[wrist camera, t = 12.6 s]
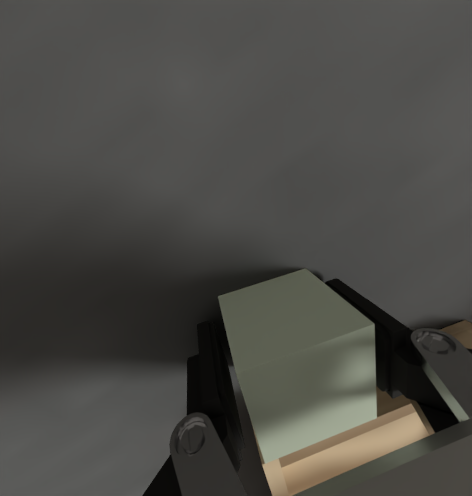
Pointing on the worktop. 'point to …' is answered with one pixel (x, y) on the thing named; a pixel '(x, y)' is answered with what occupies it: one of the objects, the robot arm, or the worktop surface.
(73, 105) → the worktop surface
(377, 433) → the oak tray
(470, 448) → the robot arm
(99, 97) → the worktop surface
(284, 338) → the sage block
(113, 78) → the worktop surface
